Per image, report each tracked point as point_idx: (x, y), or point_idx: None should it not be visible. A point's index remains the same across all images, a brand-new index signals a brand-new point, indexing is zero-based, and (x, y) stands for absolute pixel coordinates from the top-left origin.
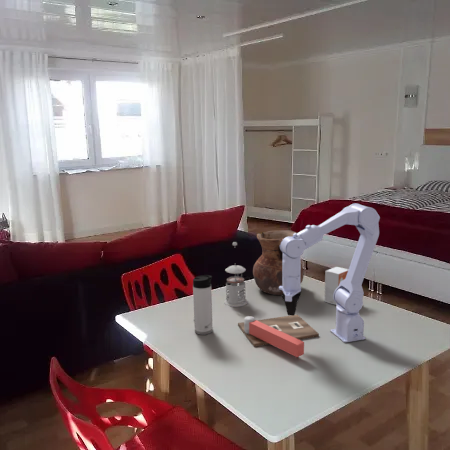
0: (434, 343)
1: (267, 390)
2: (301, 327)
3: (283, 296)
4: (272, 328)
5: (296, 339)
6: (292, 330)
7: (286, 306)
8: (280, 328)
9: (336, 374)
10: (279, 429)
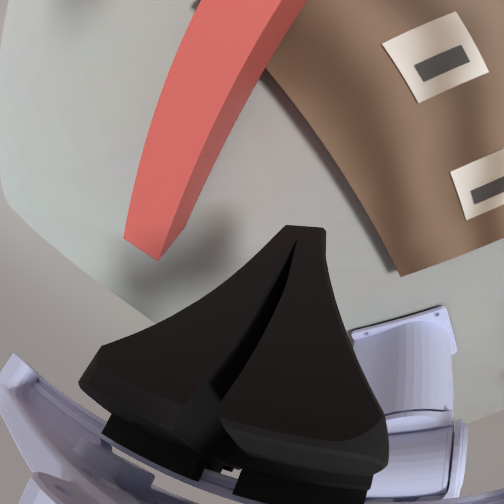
0: None
1: (38, 157)
2: (465, 210)
3: (82, 383)
4: (225, 76)
5: (159, 233)
6: (430, 162)
7: (226, 282)
8: (447, 93)
9: (164, 288)
10: (11, 203)
